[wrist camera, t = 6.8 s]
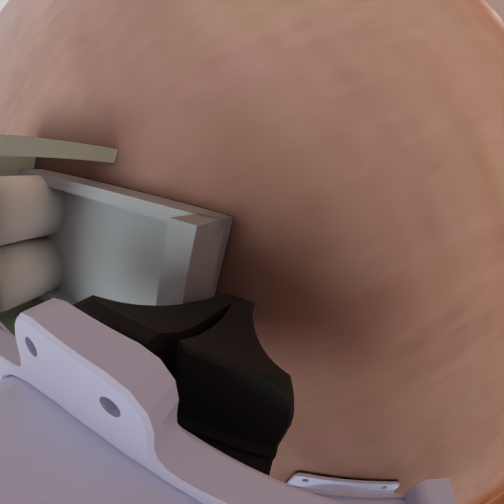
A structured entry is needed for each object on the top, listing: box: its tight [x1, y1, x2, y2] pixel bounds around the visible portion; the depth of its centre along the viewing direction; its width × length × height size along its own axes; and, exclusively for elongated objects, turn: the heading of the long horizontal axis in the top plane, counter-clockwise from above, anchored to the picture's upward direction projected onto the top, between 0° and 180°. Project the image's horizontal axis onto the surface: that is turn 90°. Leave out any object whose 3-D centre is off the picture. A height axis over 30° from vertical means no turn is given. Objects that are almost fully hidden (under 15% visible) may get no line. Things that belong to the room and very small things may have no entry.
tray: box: [0, 169, 233, 313], centre depth 12 cm, size 15×8×6 cm, turn 75°
